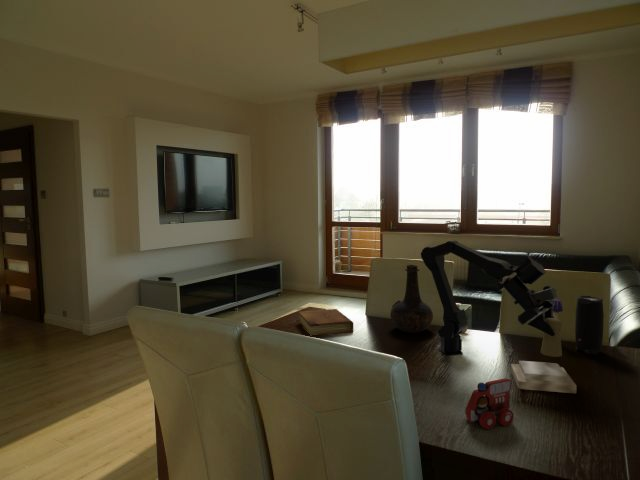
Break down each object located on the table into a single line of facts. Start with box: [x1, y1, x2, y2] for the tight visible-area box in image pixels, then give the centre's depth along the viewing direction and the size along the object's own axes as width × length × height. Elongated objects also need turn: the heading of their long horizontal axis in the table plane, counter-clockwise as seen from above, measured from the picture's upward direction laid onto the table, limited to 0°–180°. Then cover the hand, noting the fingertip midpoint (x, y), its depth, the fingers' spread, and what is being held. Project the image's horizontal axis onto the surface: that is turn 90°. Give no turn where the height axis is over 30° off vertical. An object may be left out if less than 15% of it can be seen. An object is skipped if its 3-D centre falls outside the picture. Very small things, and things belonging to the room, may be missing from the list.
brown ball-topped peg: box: [540, 318, 563, 358], centre depth 141 cm, size 6×6×11 cm
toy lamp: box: [549, 298, 564, 319], centre depth 172 cm, size 5×5×17 cm
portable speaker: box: [574, 295, 605, 355], centre depth 162 cm, size 9×9×20 cm
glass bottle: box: [389, 264, 434, 334], centre depth 193 cm, size 18×18×28 cm
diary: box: [298, 308, 354, 336], centre depth 200 cm, size 23×19×6 cm
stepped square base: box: [510, 360, 577, 394], centre depth 136 cm, size 15×15×4 cm
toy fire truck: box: [464, 377, 515, 430], centre depth 111 cm, size 7×12×10 cm, turn 109°
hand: (556, 333), depth 140 cm, fingers closed on brown ball-topped peg, 5 cm apart
